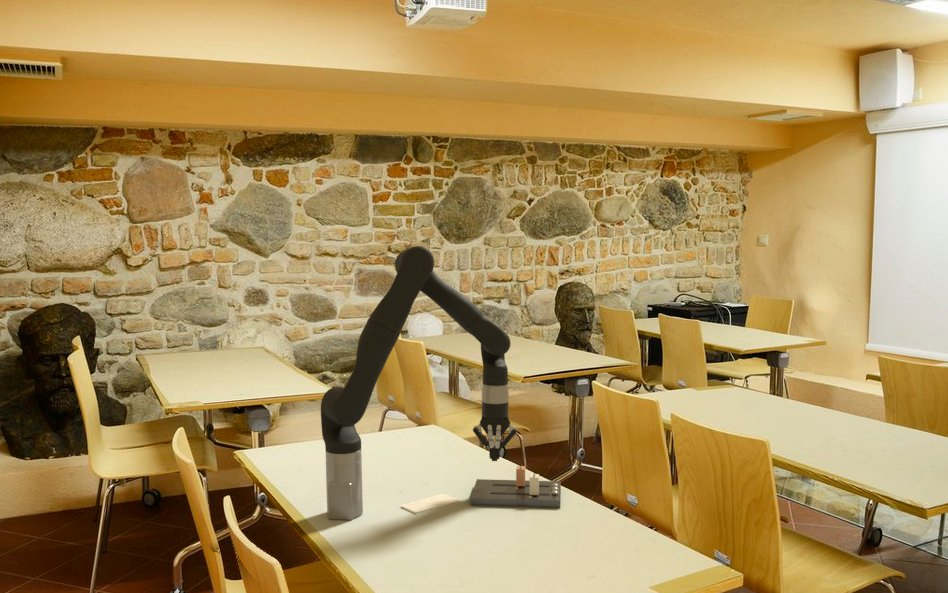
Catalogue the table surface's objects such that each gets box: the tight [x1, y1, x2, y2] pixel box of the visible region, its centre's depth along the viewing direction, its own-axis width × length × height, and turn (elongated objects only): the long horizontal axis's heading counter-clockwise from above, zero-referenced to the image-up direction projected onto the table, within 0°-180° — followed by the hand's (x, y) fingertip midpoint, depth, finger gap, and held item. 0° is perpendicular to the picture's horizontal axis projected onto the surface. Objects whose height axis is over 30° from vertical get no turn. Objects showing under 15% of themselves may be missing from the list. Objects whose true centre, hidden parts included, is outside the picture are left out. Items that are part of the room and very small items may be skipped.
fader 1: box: [515, 465, 526, 486], centre depth 226 cm, size 3×2×5 cm
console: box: [469, 478, 562, 509], centre depth 223 cm, size 16×24×3 cm, turn 84°
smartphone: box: [401, 493, 460, 515], centre depth 218 cm, size 7×1×15 cm
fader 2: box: [529, 473, 540, 495], centre depth 218 cm, size 3×2×5 cm
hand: (494, 460), depth 227 cm, fingers closed
